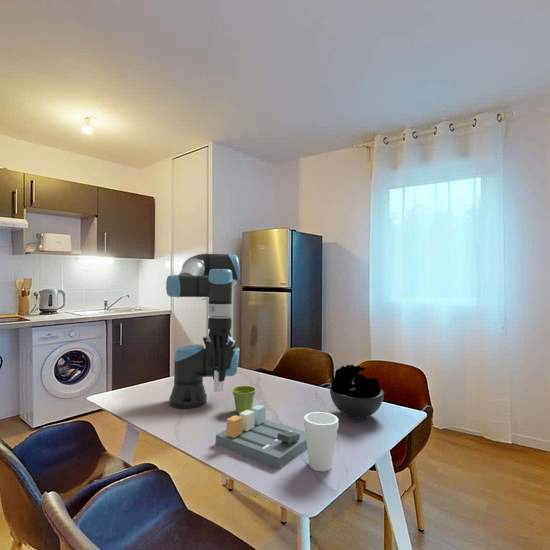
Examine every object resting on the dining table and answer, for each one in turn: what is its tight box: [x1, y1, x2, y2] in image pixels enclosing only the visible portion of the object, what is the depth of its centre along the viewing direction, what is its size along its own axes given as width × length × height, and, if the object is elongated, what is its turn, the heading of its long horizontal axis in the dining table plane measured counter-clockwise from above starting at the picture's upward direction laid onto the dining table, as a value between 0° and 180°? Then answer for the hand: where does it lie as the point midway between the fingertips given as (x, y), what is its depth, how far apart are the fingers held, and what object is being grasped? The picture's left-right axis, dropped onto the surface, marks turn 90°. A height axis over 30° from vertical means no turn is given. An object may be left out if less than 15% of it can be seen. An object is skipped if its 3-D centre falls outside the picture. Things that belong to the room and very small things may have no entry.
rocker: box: [277, 431, 300, 443], centre depth 106 cm, size 4×6×2 cm, turn 145°
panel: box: [215, 419, 307, 470], centre depth 111 cm, size 24×19×4 cm
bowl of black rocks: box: [329, 364, 385, 419], centre depth 135 cm, size 20×20×19 cm
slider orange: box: [226, 414, 243, 438], centre depth 110 cm, size 3×4×5 cm
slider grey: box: [251, 404, 267, 425], centre depth 120 cm, size 3×4×5 cm
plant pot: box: [231, 385, 257, 414], centre depth 139 cm, size 9×9×9 cm
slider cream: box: [238, 410, 255, 431], centre depth 115 cm, size 3×4×5 cm
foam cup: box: [303, 411, 339, 472], centre depth 99 cm, size 10×9×13 cm
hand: (218, 390), depth 114 cm, fingers closed
